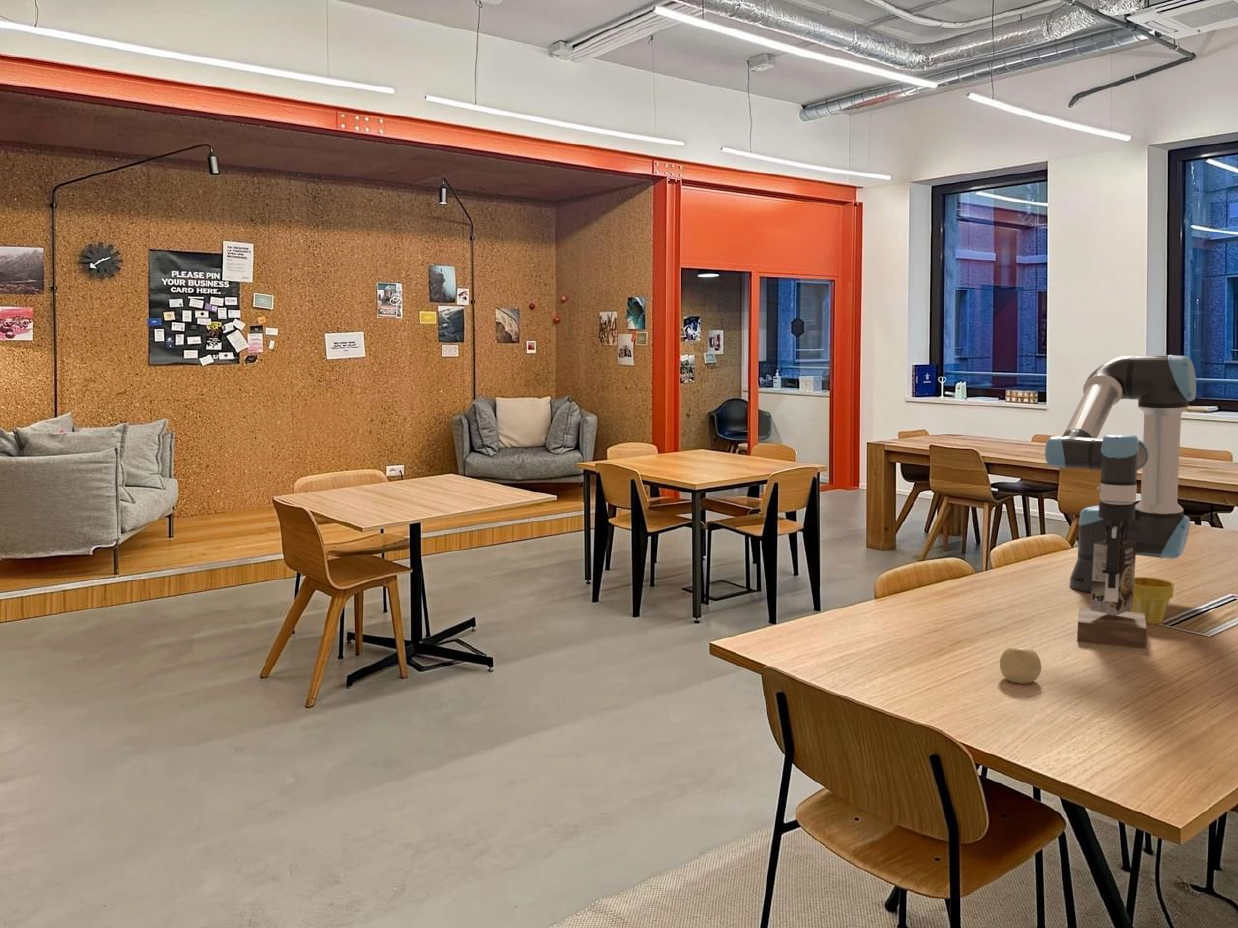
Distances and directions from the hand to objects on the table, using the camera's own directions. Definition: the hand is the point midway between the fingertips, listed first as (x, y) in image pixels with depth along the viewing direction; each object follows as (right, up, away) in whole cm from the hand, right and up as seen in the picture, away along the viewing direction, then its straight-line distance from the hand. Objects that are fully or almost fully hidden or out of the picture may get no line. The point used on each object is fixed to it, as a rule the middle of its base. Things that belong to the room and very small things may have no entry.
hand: (1112, 595), depth 231 cm
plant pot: (+16, -8, +14) cm, 22 cm away
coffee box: (0, -4, 0) cm, 3 cm away
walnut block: (0, -10, +1) cm, 10 cm away
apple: (-33, -14, -28) cm, 45 cm away
